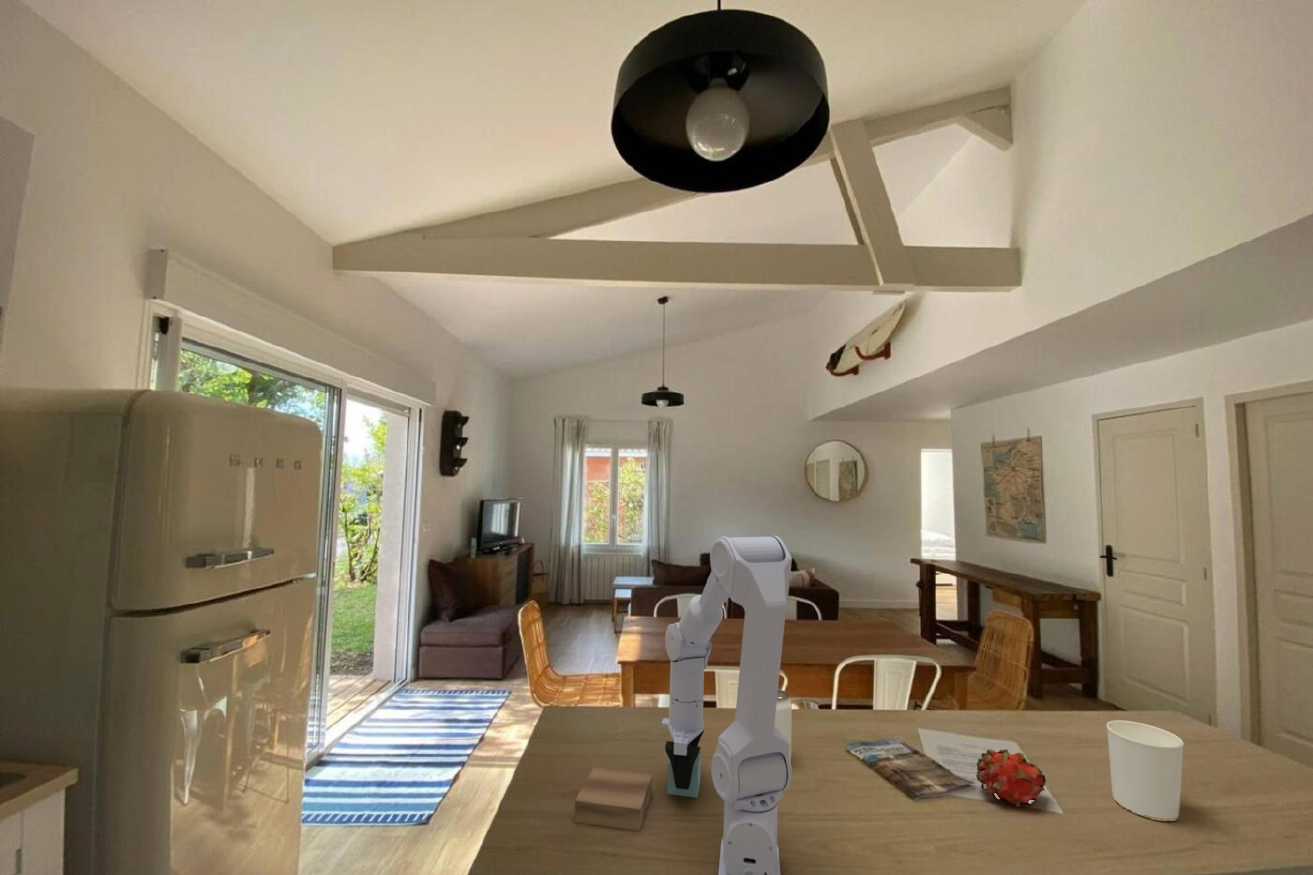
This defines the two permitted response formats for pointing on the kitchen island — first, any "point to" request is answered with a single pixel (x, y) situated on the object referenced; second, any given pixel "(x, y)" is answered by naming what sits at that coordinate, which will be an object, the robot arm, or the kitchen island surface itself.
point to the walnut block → (614, 799)
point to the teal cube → (694, 781)
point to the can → (784, 715)
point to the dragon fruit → (1010, 776)
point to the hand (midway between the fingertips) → (684, 778)
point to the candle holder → (1145, 768)
